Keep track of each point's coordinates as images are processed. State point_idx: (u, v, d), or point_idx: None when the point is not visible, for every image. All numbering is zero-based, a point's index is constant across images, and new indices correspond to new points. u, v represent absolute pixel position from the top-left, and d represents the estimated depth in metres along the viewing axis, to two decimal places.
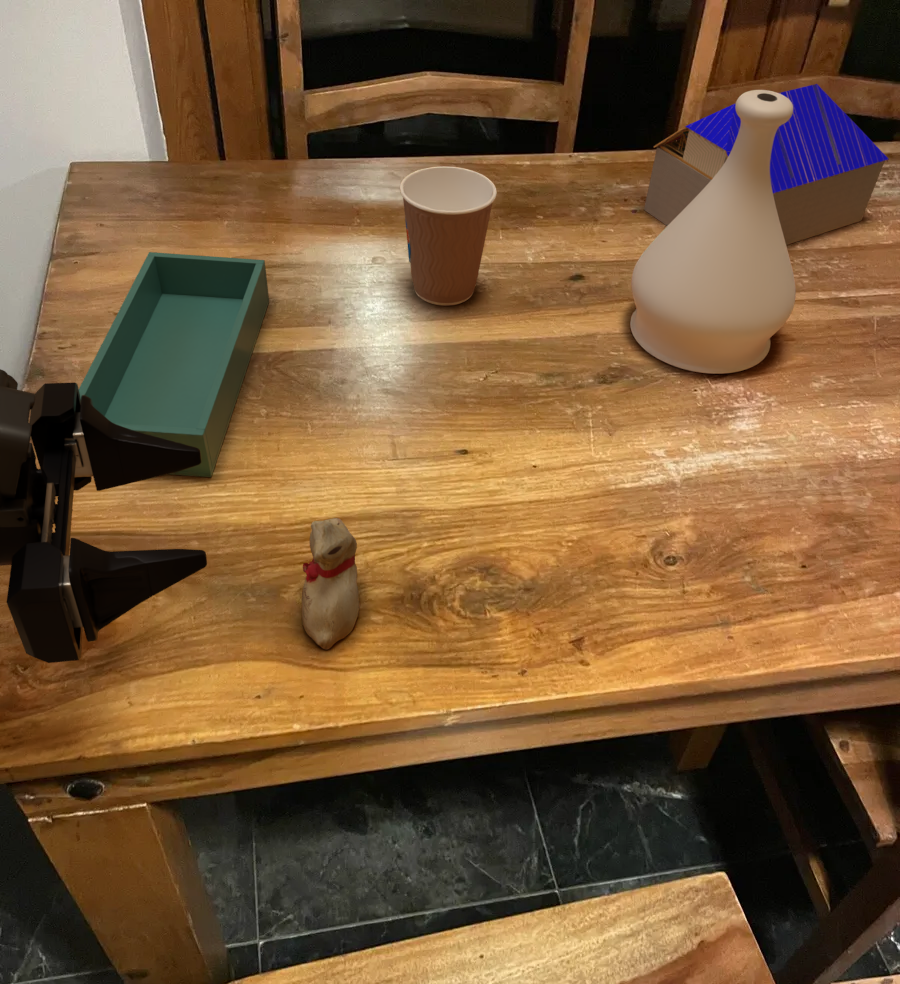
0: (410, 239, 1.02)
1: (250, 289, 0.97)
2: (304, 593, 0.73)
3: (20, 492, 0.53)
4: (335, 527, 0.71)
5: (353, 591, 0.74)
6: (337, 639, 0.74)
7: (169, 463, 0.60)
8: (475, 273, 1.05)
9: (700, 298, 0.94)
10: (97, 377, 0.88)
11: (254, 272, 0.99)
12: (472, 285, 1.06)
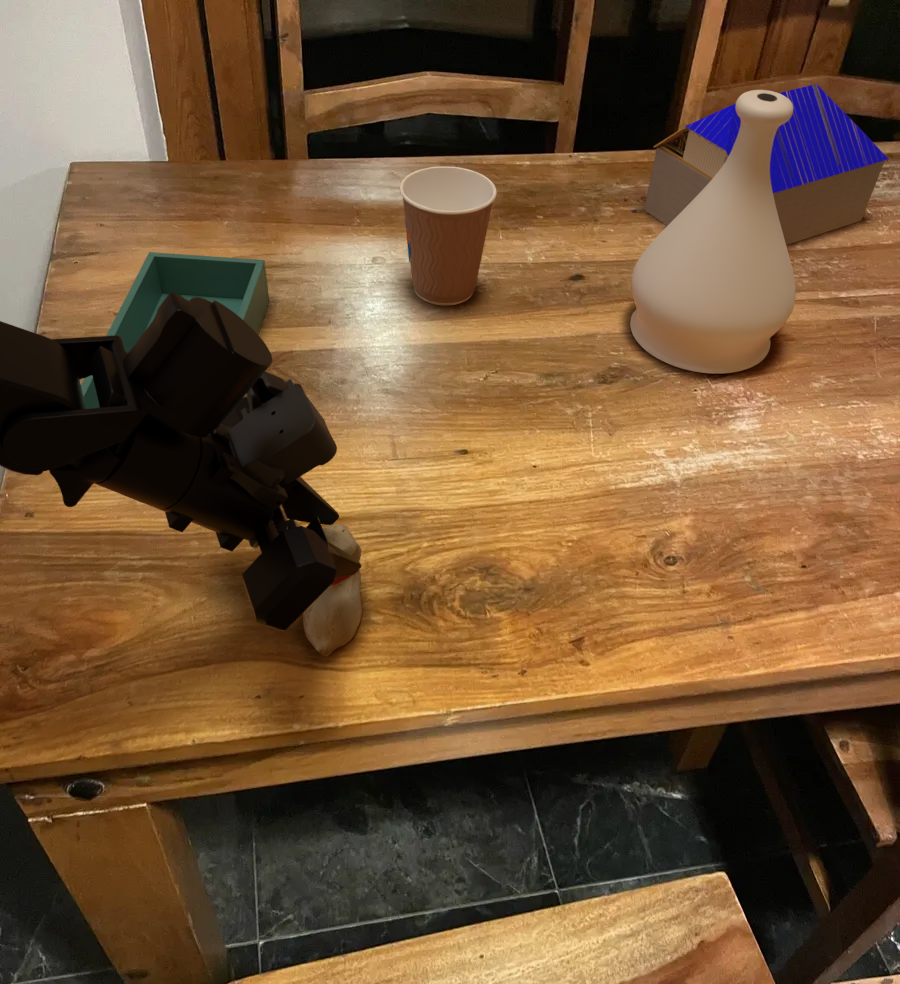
0: (410, 239, 1.02)
1: (250, 289, 0.97)
2: None
3: None
4: (339, 535, 0.70)
5: (355, 599, 0.73)
6: (337, 646, 0.73)
7: (314, 515, 0.72)
8: (475, 273, 1.05)
9: (700, 298, 0.94)
10: None
11: (254, 272, 0.99)
12: (472, 285, 1.06)
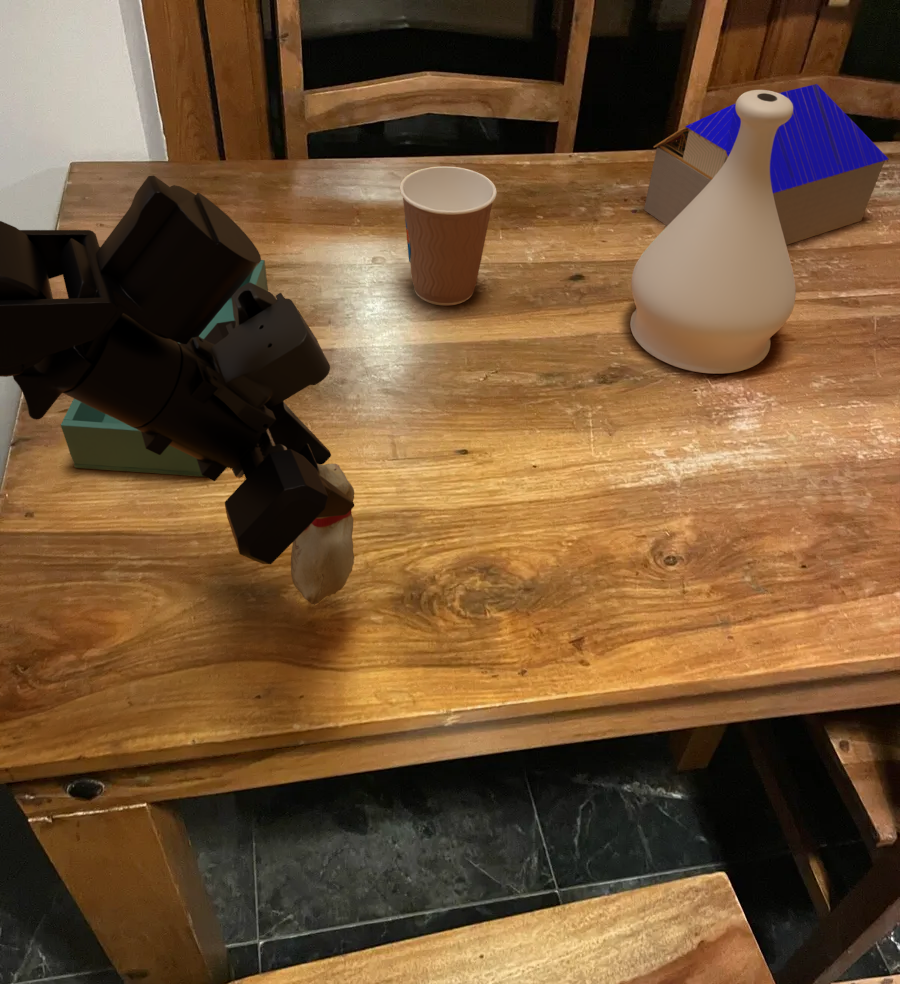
0: (410, 239, 1.02)
1: None
2: (294, 542, 0.68)
3: None
4: (330, 472, 0.65)
5: (347, 544, 0.68)
6: (326, 594, 0.68)
7: None
8: (475, 273, 1.05)
9: (700, 298, 0.94)
10: None
11: (254, 272, 0.99)
12: (472, 285, 1.06)
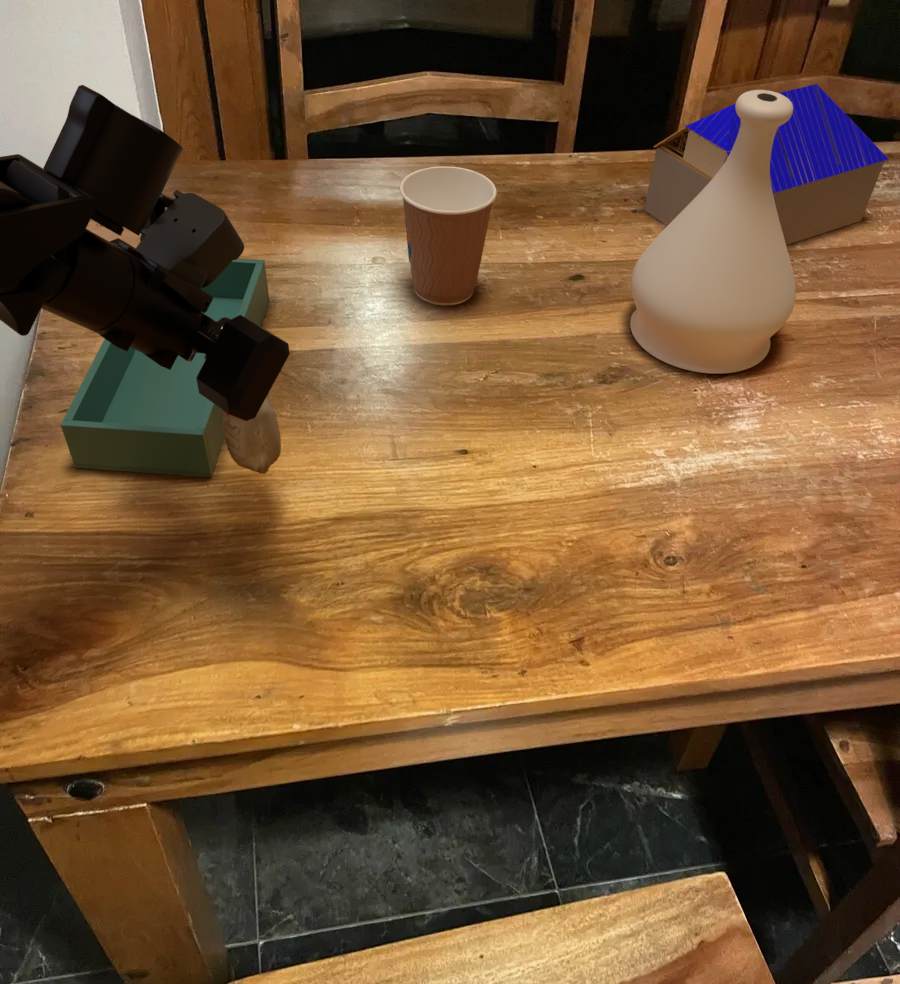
0: (410, 239, 1.02)
1: (250, 289, 0.97)
2: (229, 426, 0.76)
3: None
4: None
5: (273, 414, 0.77)
6: (271, 462, 0.77)
7: None
8: (475, 273, 1.05)
9: (700, 298, 0.94)
10: (97, 377, 0.88)
11: (254, 272, 0.99)
12: (472, 285, 1.06)
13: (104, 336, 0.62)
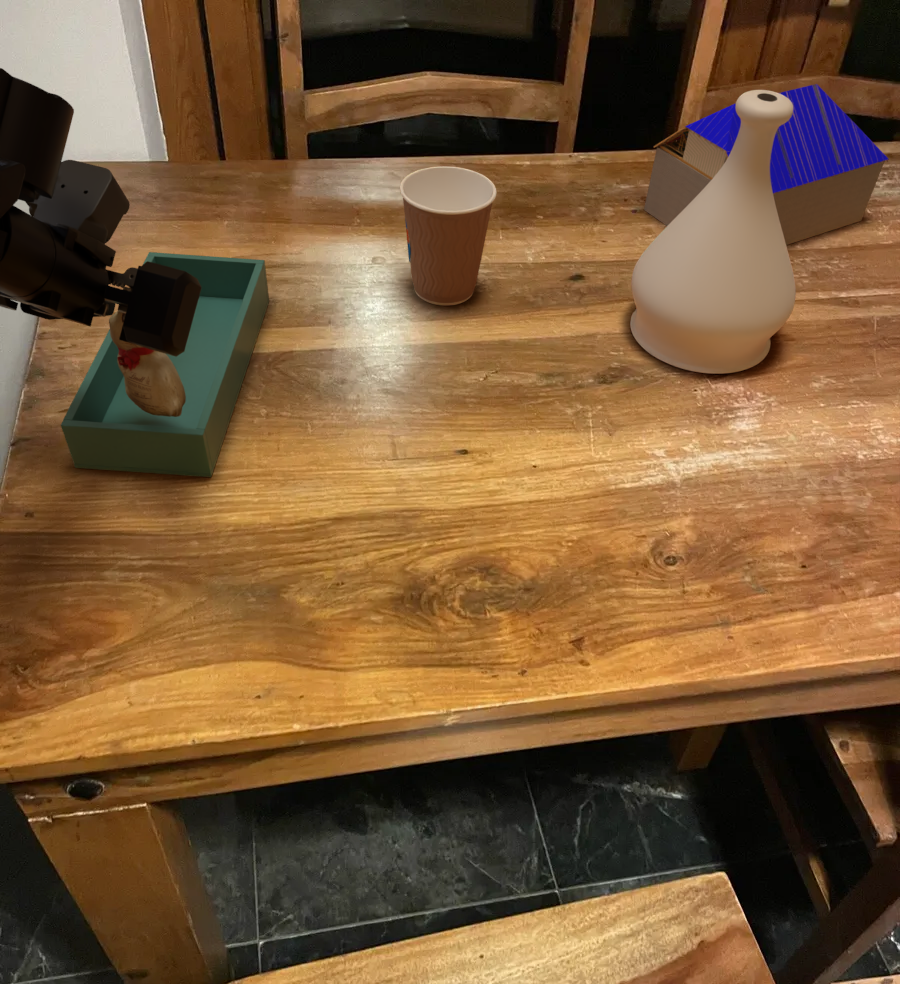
0: (410, 239, 1.02)
1: (250, 289, 0.97)
2: (135, 379, 0.82)
3: None
4: None
5: (171, 361, 0.83)
6: (182, 404, 0.84)
7: None
8: (475, 273, 1.05)
9: (700, 298, 0.94)
10: (97, 377, 0.88)
11: (254, 272, 0.99)
12: (472, 285, 1.06)
13: (31, 301, 0.67)
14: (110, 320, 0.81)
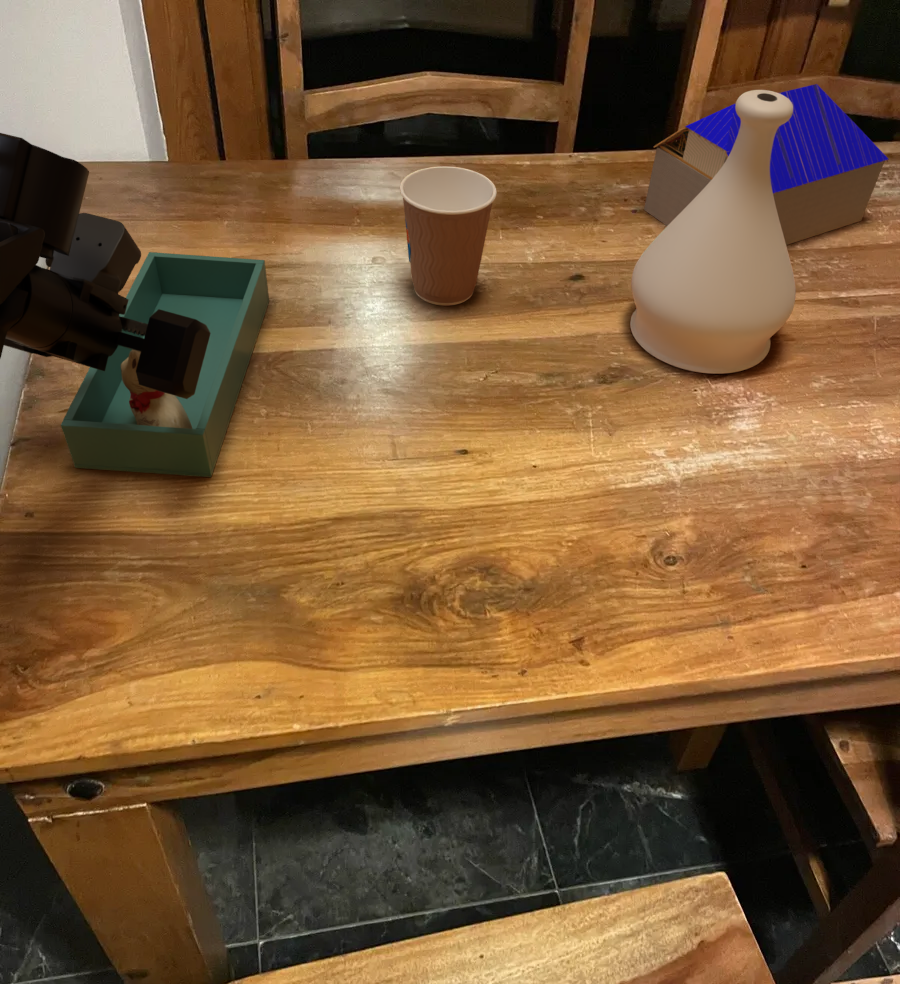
0: (410, 239, 1.02)
1: (250, 289, 0.97)
2: (146, 422, 0.85)
3: None
4: None
5: (180, 403, 0.87)
6: None
7: None
8: (475, 273, 1.05)
9: (700, 298, 0.94)
10: (97, 377, 0.88)
11: (254, 272, 0.99)
12: (472, 285, 1.06)
13: (49, 351, 0.70)
14: (121, 366, 0.84)
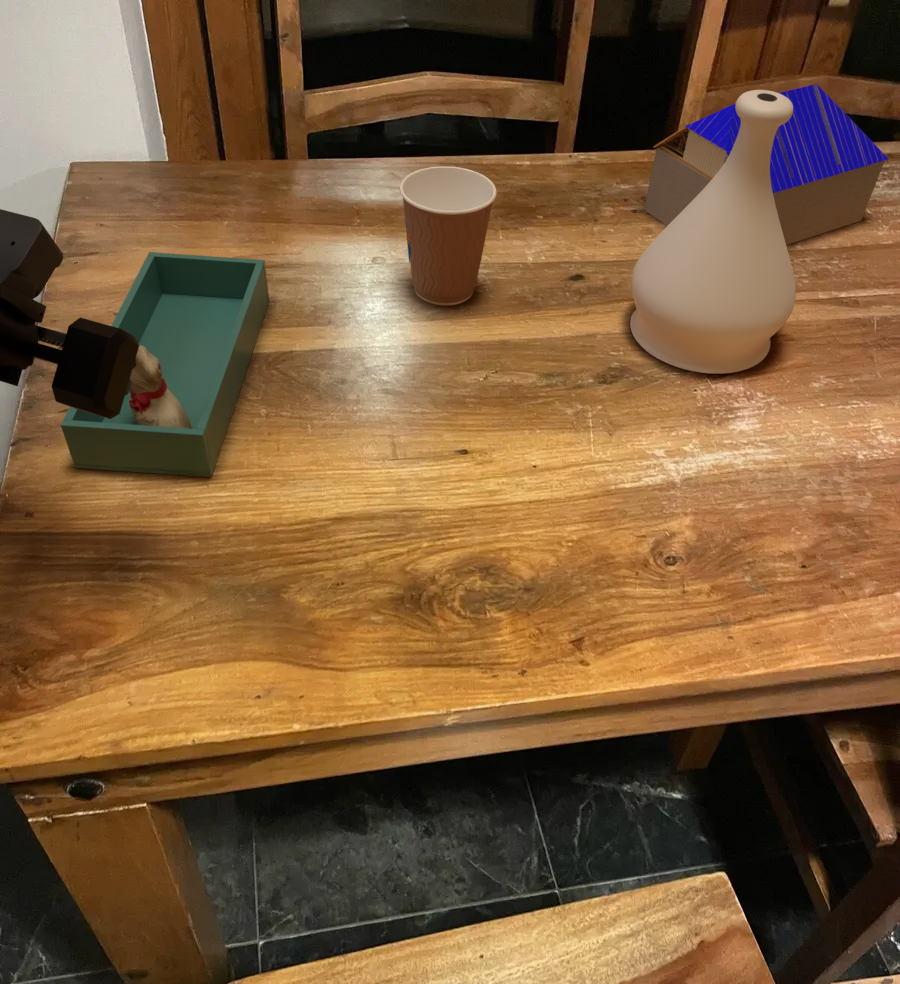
0: (410, 239, 1.02)
1: (250, 289, 0.97)
2: (146, 422, 0.85)
3: None
4: None
5: (180, 403, 0.87)
6: None
7: None
8: (475, 273, 1.05)
9: (700, 298, 0.94)
10: None
11: (254, 272, 0.99)
12: (472, 285, 1.06)
13: None
14: None
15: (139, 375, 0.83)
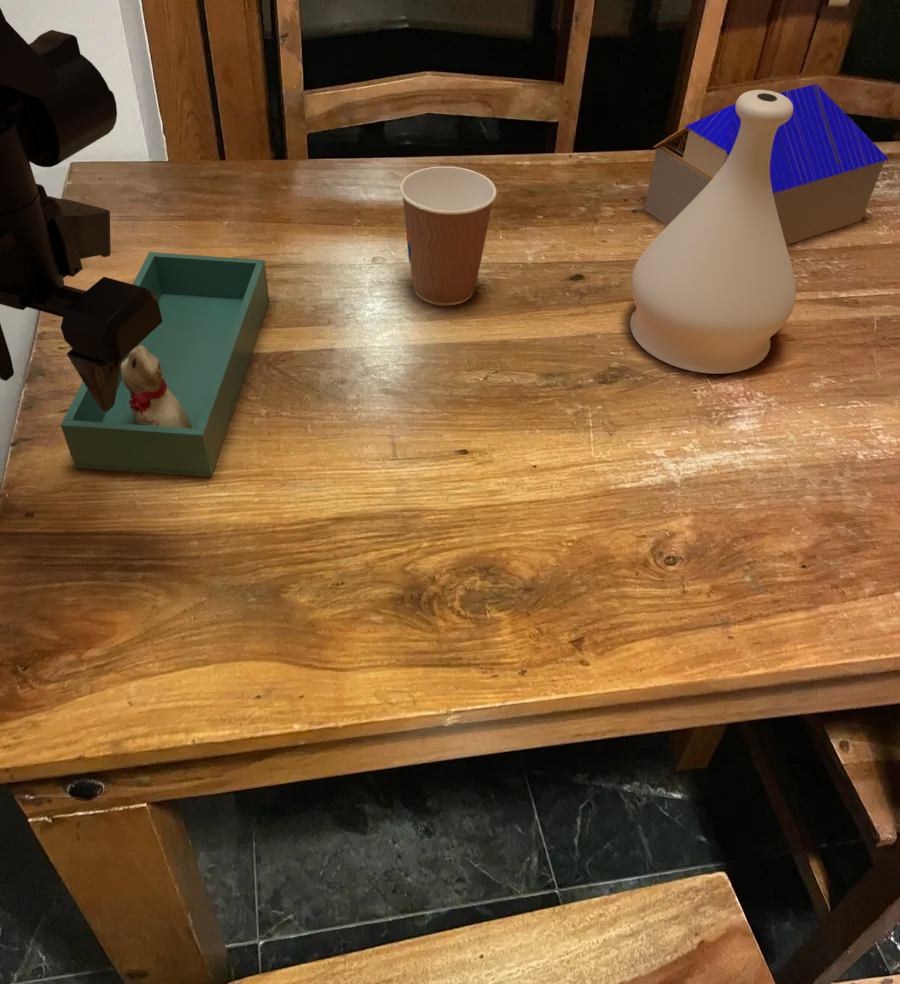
0: (410, 239, 1.02)
1: (250, 289, 0.97)
2: (146, 422, 0.85)
3: None
4: None
5: (180, 403, 0.87)
6: None
7: None
8: (475, 273, 1.05)
9: (700, 298, 0.94)
10: None
11: (254, 272, 0.99)
12: (472, 285, 1.06)
13: None
14: (121, 366, 0.84)
15: (139, 375, 0.83)
